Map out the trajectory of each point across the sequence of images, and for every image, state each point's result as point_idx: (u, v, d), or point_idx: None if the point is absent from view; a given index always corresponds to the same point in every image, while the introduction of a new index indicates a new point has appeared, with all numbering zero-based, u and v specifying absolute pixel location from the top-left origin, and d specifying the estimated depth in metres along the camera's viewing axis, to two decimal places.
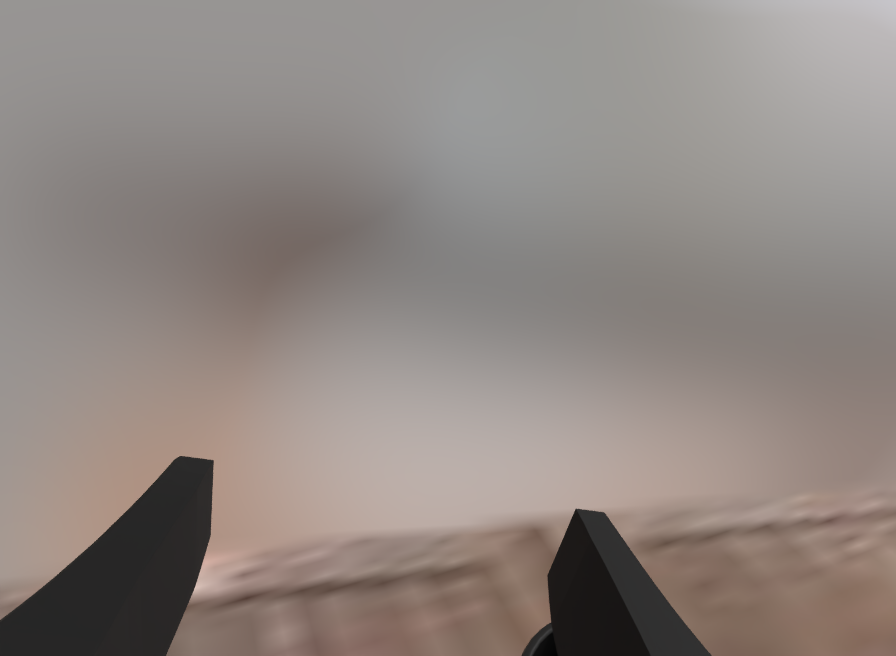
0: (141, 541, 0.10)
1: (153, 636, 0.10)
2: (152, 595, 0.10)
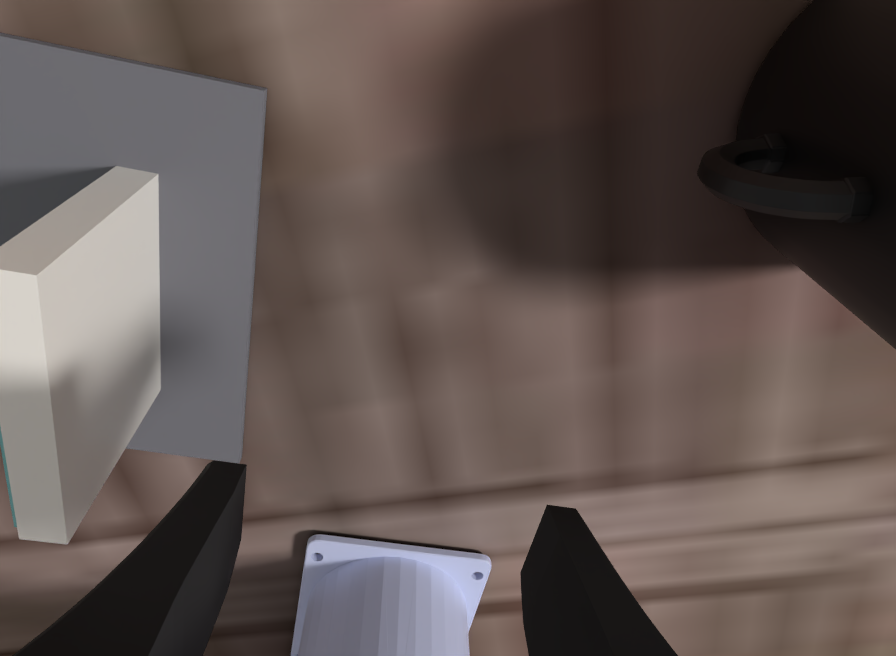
0: (183, 546, 0.10)
1: (192, 640, 0.10)
2: (193, 599, 0.10)
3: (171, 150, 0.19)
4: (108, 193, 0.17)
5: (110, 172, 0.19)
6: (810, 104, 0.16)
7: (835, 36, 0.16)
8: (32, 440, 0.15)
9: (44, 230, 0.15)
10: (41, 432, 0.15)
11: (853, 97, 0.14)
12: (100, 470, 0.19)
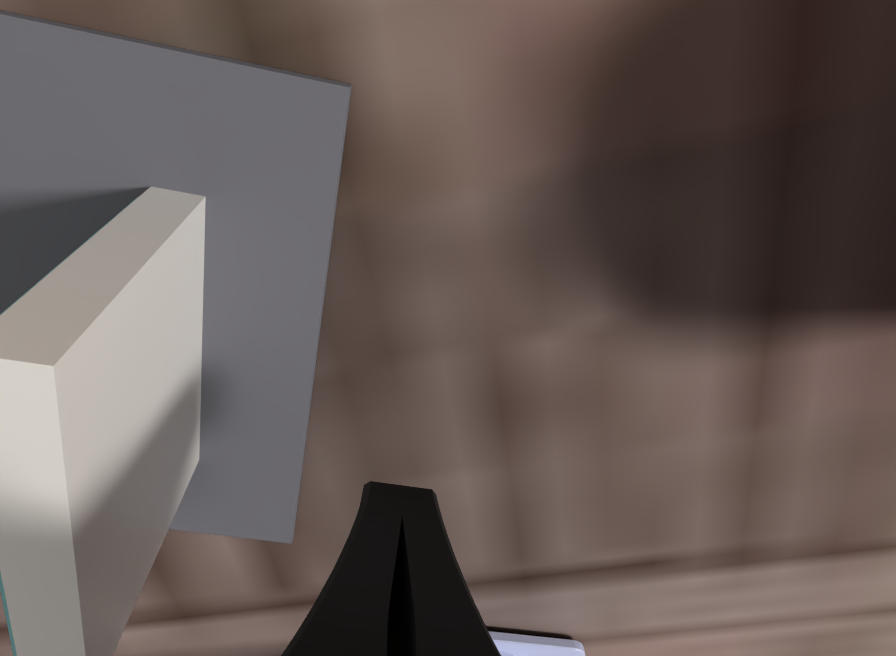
0: (376, 568, 0.10)
1: None
2: None
3: (223, 166, 0.14)
4: (145, 226, 0.13)
5: (144, 195, 0.14)
6: None
7: None
8: (44, 582, 0.11)
9: (62, 287, 0.10)
10: (57, 572, 0.11)
11: None
12: (132, 589, 0.14)
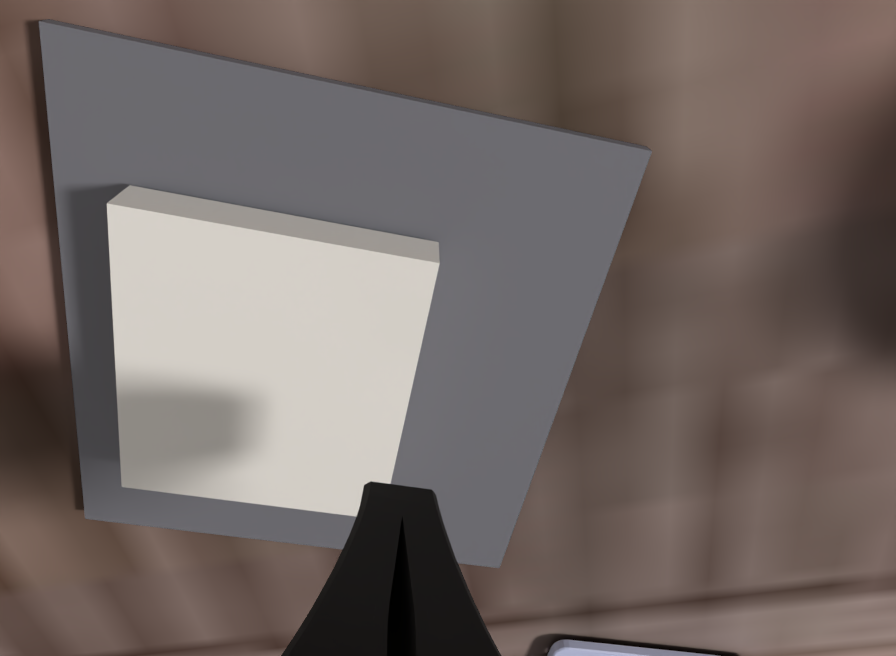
0: (376, 568, 0.10)
1: None
2: None
3: (518, 222, 0.15)
4: (344, 236, 0.14)
5: (413, 238, 0.15)
6: None
7: None
8: None
9: (220, 208, 0.14)
10: None
11: None
12: (203, 479, 0.17)
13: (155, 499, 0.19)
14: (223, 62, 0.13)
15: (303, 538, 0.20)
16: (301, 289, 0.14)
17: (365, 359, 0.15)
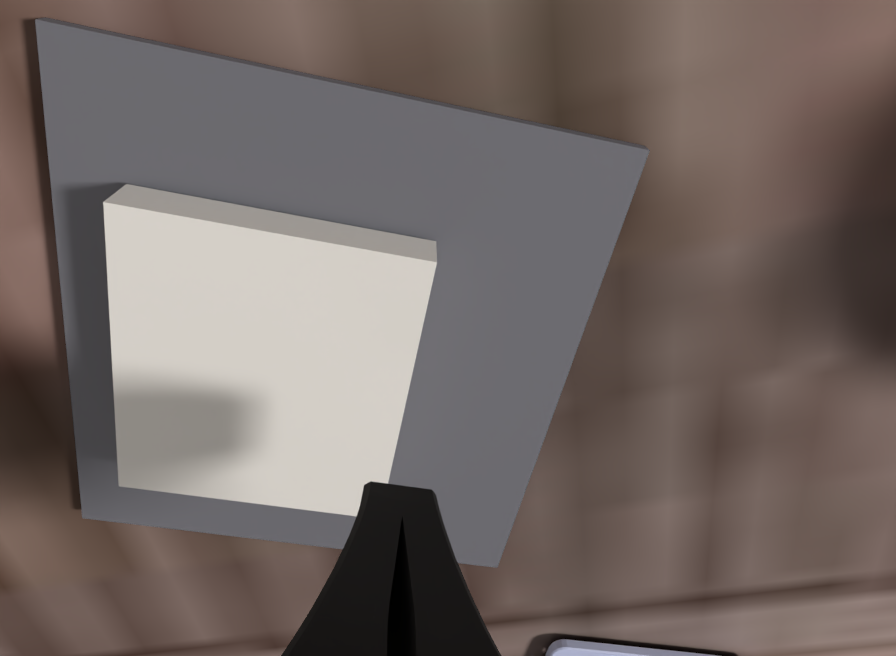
0: (376, 568, 0.10)
1: None
2: None
3: (515, 221, 0.15)
4: (342, 235, 0.14)
5: (410, 238, 0.15)
6: None
7: None
8: None
9: (217, 207, 0.14)
10: None
11: None
12: (200, 478, 0.17)
13: (152, 498, 0.19)
14: (220, 61, 0.13)
15: (301, 538, 0.20)
16: (298, 288, 0.14)
17: (362, 358, 0.15)
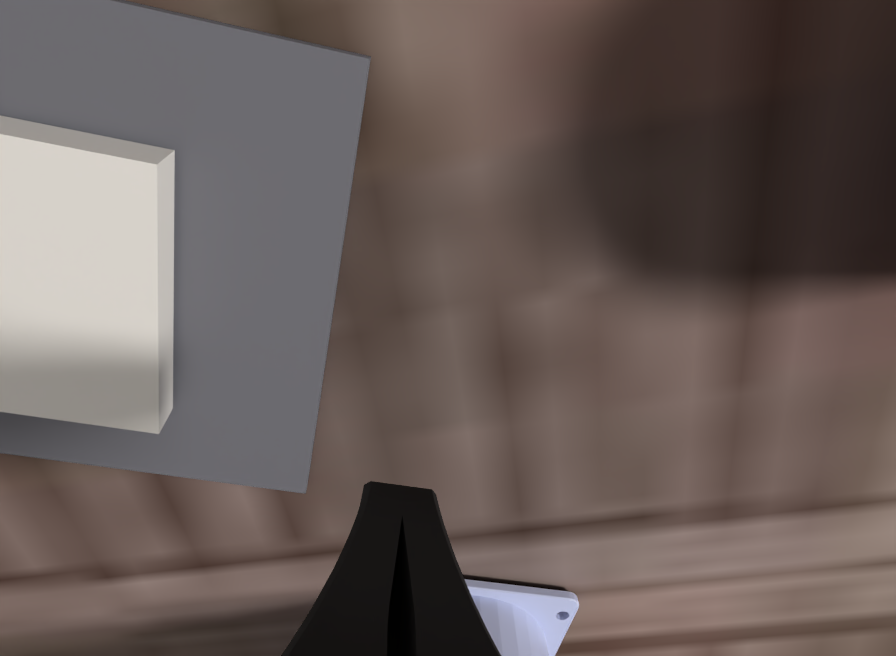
0: (376, 568, 0.10)
1: None
2: None
3: (252, 131, 0.16)
4: (68, 138, 0.15)
5: (147, 146, 0.16)
6: None
7: None
8: None
9: None
10: None
11: None
12: None
13: None
14: None
15: (105, 460, 0.21)
16: (26, 190, 0.15)
17: (105, 264, 0.16)
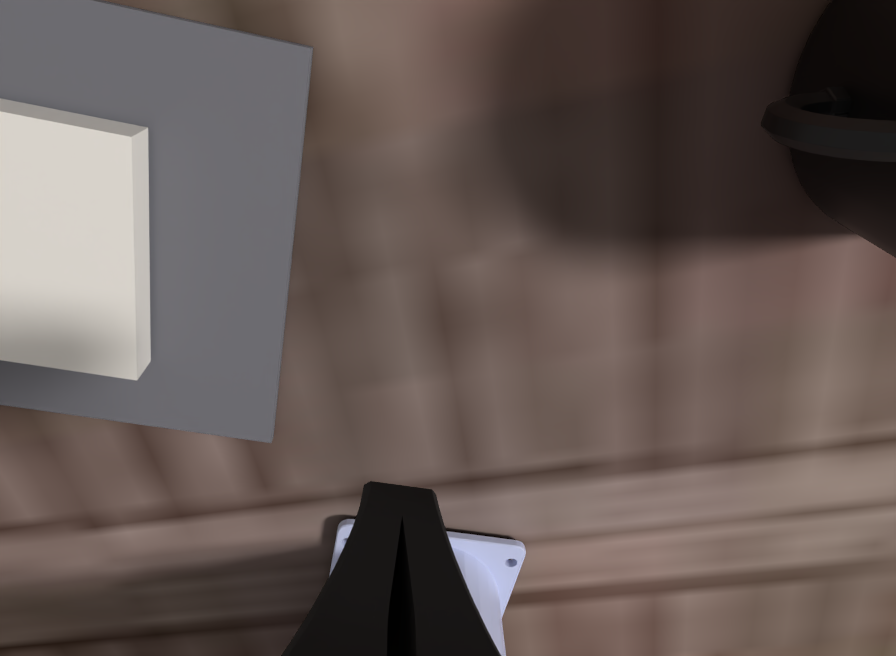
0: (376, 568, 0.10)
1: None
2: None
3: (214, 111, 0.19)
4: (57, 116, 0.18)
5: (125, 123, 0.18)
6: (878, 52, 0.15)
7: None
8: None
9: None
10: None
11: None
12: None
13: None
14: None
15: (91, 411, 0.23)
16: (22, 160, 0.18)
17: (89, 225, 0.19)
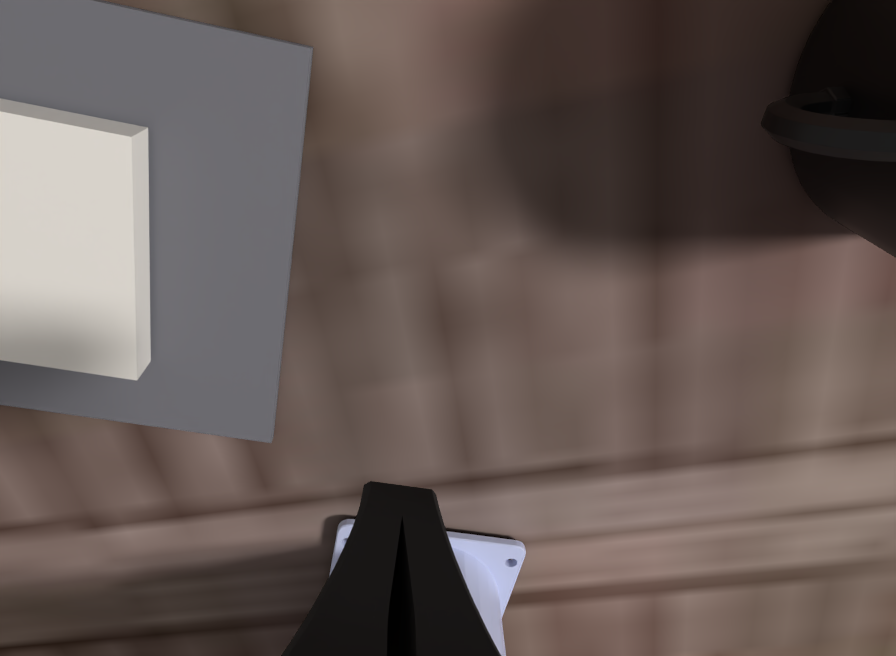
0: (376, 568, 0.10)
1: None
2: None
3: (214, 111, 0.19)
4: (57, 116, 0.18)
5: (125, 123, 0.18)
6: (879, 52, 0.15)
7: None
8: None
9: None
10: None
11: None
12: None
13: None
14: None
15: (91, 411, 0.23)
16: (22, 160, 0.18)
17: (89, 225, 0.19)
